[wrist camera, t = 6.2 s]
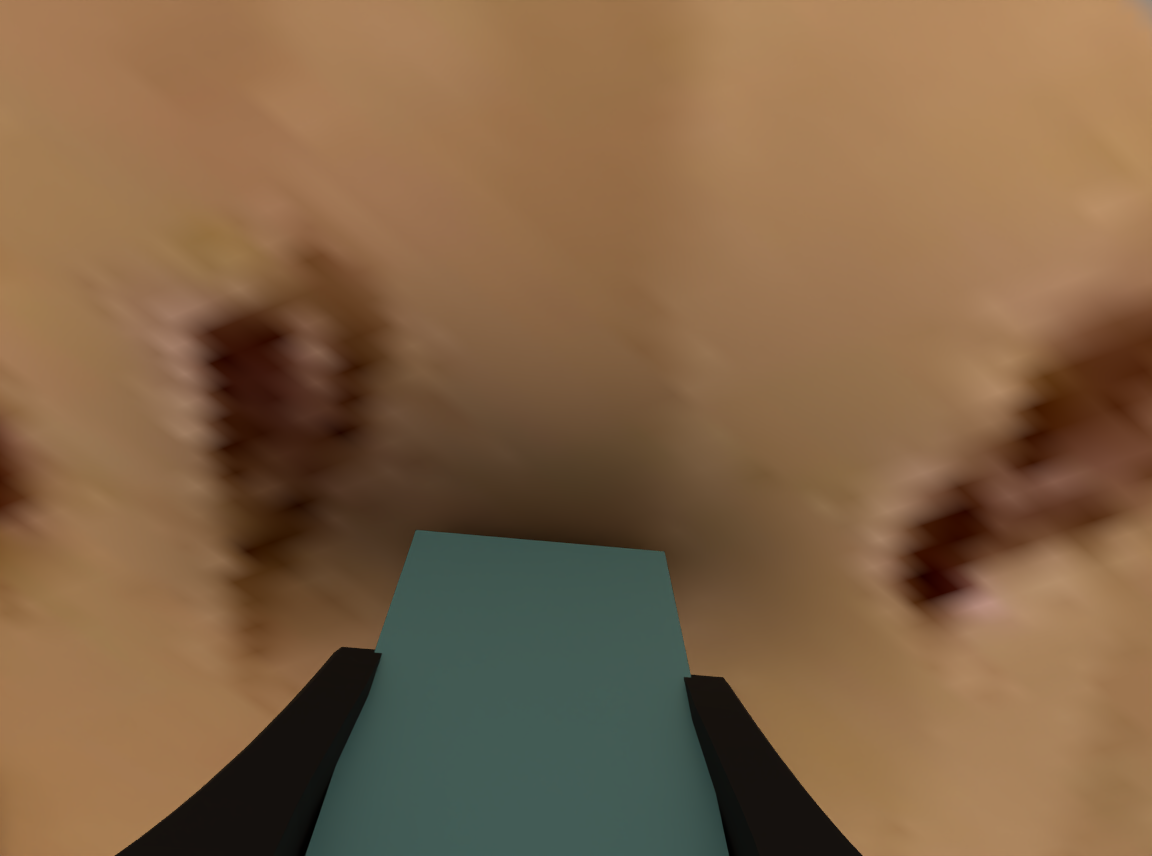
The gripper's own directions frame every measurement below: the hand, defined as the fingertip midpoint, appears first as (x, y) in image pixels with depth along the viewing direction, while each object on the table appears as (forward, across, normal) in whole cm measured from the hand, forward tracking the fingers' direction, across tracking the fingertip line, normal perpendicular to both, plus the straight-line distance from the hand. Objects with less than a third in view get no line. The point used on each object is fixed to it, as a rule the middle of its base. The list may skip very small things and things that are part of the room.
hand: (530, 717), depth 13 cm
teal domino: (+3, 0, 0) cm, 3 cm away
